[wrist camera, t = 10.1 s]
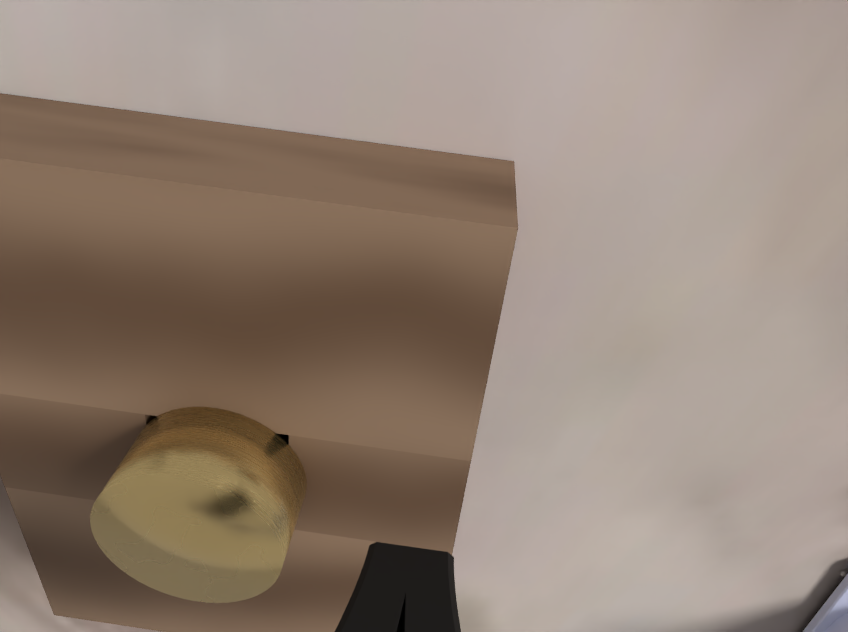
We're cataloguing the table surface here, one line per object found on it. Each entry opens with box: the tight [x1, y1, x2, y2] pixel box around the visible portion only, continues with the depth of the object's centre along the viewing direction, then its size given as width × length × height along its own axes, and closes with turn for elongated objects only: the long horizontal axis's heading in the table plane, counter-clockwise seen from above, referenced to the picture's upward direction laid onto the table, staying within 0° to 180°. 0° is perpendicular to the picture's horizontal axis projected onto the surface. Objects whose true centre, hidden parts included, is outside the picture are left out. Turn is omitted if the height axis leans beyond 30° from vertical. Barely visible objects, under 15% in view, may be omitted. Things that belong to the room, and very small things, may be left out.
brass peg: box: [90, 407, 307, 603], centre depth 19 cm, size 5×5×6 cm
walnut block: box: [0, 94, 518, 632], centre depth 20 cm, size 18×14×4 cm
